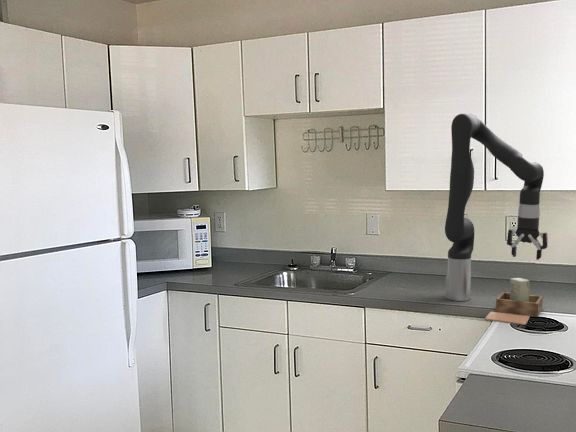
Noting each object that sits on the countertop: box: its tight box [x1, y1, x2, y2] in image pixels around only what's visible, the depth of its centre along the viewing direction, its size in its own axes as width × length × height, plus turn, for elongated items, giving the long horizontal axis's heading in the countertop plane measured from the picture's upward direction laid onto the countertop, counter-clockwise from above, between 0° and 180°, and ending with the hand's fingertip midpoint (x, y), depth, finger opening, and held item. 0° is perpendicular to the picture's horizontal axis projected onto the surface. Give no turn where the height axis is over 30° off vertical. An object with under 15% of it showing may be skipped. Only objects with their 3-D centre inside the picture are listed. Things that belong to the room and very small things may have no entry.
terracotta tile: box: [484, 311, 531, 326], centre depth 230 cm, size 14×10×1 cm
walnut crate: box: [495, 291, 544, 318], centre depth 240 cm, size 15×12×5 cm
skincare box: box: [509, 277, 530, 302], centre depth 240 cm, size 6×4×12 cm
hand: (526, 258), depth 238 cm, fingers open, 8 cm apart
